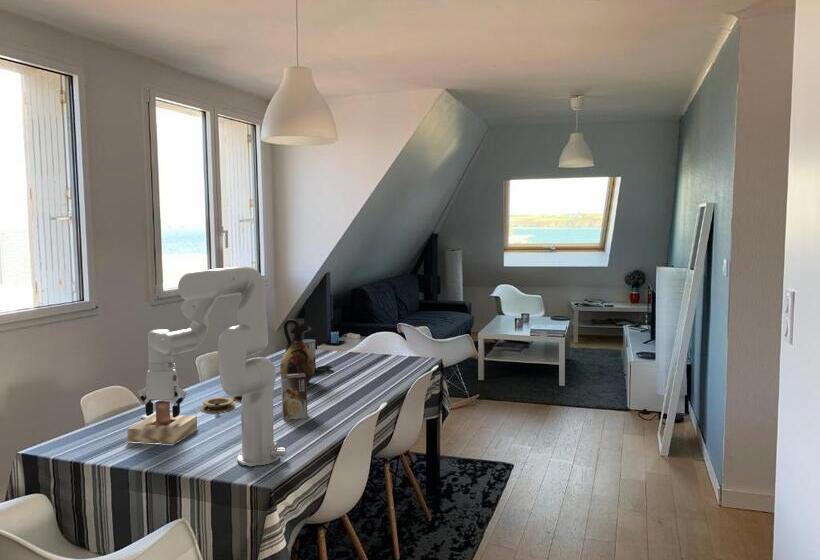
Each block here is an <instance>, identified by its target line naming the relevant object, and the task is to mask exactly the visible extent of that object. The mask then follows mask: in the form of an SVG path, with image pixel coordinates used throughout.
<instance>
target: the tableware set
mask: <svg viewBox="0 0 820 560" xmlns="http://www.w3.org/2000/svg"><path fill="white" fill-rule="evenodd" d="M242 397H243V395H241V396H236V397H233V396H230V398H229V397H224V396H222V397H220V396H219V397H211V398H207V399H205V400H203V401H202V404H203V405H202V406H201V407H200V408H199V411H200V410H201V411H200V412H202V411H203V412H202V413H205V412H208V413H207V414H217V413H216V412H222V413H225V412H224V411H227V412H230V411H232V409H233V410H234V409H235V408H236V404H235V403H233V402H236V401H242ZM233 400H234V401H233ZM228 406H229V407H228ZM207 407H208V408H207ZM229 410H230V411H229Z"/></svg>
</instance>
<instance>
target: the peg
mask: <svg viewBox="0 0 820 560" xmlns="http://www.w3.org/2000/svg"><path fill="white" fill-rule="evenodd" d="M170 402H171V401H170V400H156V401H155V402H154V403H155V412H156V425H162V426H167V425H169V424H170V413H171V403H170Z"/></svg>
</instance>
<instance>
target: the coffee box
mask: <svg viewBox="0 0 820 560" xmlns="http://www.w3.org/2000/svg"><path fill="white" fill-rule="evenodd" d="M280 382H281V383H280V388H281V389H280V391H281V416H282V420H283V421H291V420H290V419H294V420H305V419H308V393H307V392H308V391H307V389H308V388H307V387H308V386H307V384H306V375H305V374H304V373H297V374H281V373H280Z"/></svg>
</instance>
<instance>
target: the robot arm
mask: <svg viewBox="0 0 820 560" xmlns="http://www.w3.org/2000/svg"><path fill="white" fill-rule="evenodd" d="M177 291H178V294H179V296H180V297H181V298H182V299H184V301H183V302H182V303H181V307H180V308H181V312H182V314H183V315H184V317H186V318H188V319H189V320H191V323H190V325H189V326H188V328H186V329H179V330H175V331H171V330H170V329H167V328H165V329H164V328H161V329H160V328H159V329H152V330H150V331H149V332H148V333H147V344H148V346H147V348H148V370H147V372H146V378H145V387H143V388H140V389H139V390H137V394H138V395H139V397H140V400H141V401H142V402H143V404H144V405H145V406H144V407H145V409H144V410H145V415H146V416H149V415H151V414H153V412H154V402H153V400H156V401H161V400H168V401H170V402H171V403H172V404H173V405H172V408H171V409H172V410H171V411H172V414H173V417H177V416H178V415H181V410H180V409H181V404H182V402H184V401H185V399H186V396H187V391H186V390H183V389H182V388H180V383H179V378H178V373H177V369H175V368H176V367H177V363H176V362H175V363H174V358H173V355H174V356H175V355H179V354H182V353H186V352H192V351H195V350H196V349H197V348H199V347H200V346H201V345H202V343H203V342H204V340H205V338H206V337H207V335H208V332H209V327H210V321H209V318H208V315H209V314H210V312H211V310H212V308H213V307H214V305H215V303H216V302H217V300H218V299H219V298H223V297H224V298H225V297H230V296H235V295H236V296H237V295H240V296H241V298H240V299H239V302H238V304H237V308H236V309H237V311H236V316H237V325H234V326H230V327H227V328H225V329H224V330H223V331H222V332H221V333H220V335H219V337H218V340H217V358H218V371H219V381H220V386H221V387H222V389H223V391H224V393H225V394H227V395H228V396H230V397H232V396H233V397H236V396H241V395H243V397H242V402H240V417H241V419H240V421H241V425H240V426H241V452H240V453H239V454H238V455H237V456H236V461H238V462H239V463H241V464H244V465H264V466H266V465H265V464H268V465H271V464H273V463H276V462H277V461H278V460H279V459H280V457H286V456H287V450H286V448H285V447H278V442H275V441H274V440H275V435H274V434H275V433H274V392H275V389H274V388H275V382H276V376H277V373H276V366H275V364H274V363H273V362H272V361H271V360H270V359H269V358H267V357H263V356H260V357H259V356H258V357H252V358H249V359H246V357H249V356H253V355H257V354H260V353H262V352H264V351H265V350H266V349H267V347H268V344H269V333H268V332H269V331H268V317H267V308H266V306H267V305H266V304H267V303H266V302H267V285H266V281H265V279H264V276H263V275H262V274H261V273H260V272H259V270H257V269H255V268H253V267H249V266H230V267H221V268H212V269H206V270H200V271H192V272H187V273H184V275H183V276H181V277H180V279H179V281H178V285H177ZM238 462H237V463H238ZM239 463H238V464H239ZM270 463H271V464H270ZM241 464H240V465H241ZM244 465H243V466H244Z"/></svg>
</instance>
